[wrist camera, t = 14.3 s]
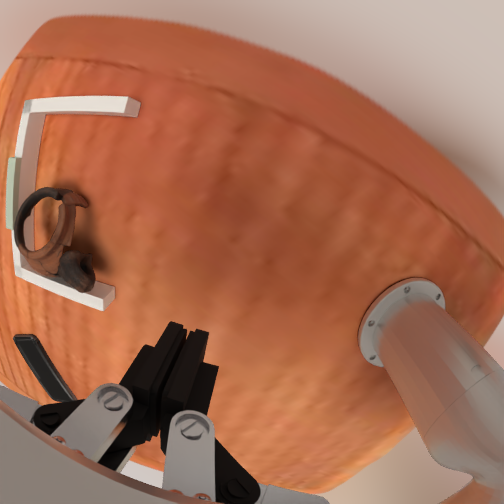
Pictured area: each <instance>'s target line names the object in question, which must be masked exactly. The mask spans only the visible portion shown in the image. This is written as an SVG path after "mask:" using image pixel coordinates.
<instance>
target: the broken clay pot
mask: <svg viewBox="0 0 504 504" xmlns="http://www.w3.org/2000/svg"><path fill="white" fill-rule="evenodd" d="M45 197H53V198H54V199H55V200H62V202H63V204H61V205H60V206H59V218H58V223H57V227H56V230H55V232H54V234H53V236H52V238H51V240H50V241H49V242H48V243H47V244H46V245H45V246H44V247H43V248H41V249H39V250H37V251H30V250H28V249H27V247H26V246H25V239H24V222H25V220H26V218H27V217H29V216H30V215H31V211H32V209H33V207H34V206H35V205H36V204H37V203H38V202H39V201H40V200H41V199H43V198H45ZM76 206H81V207H84V208H87V207H88V204H87V202H86V201H85V199H84V198H83V197H81V196H80V195H79V194H75V193H73V191H72V190H68V189H54V188H50V187H44V188H41V189H39V190H37V191H35V192H33V193H32V194H31V195H30V196H29V197H28V198H27V199H26V200H25V201H24V202H23V204H22V205H21V207H20V209H19V211H18V214H17V216H16V220H15V224H14V239H15V243H16V246H17V247H18V250H19V251H20V253H21V254H22V255H23V256H25V258H26V260H27V262H28V263H29V265H30V266H31V267H32V268H33V269H34V270H35V271H37V272H38V273H40V274H42V275H44V276H48V277H62V278H63V279H64V281H65V282H66V283H68V284H69V285H71V286H72V287H73V288H75V289H76V290H77V291H78V292H80V293H85V292H89V291H91V290H92V289H93V287H94V284H95V273H94V270H93V268H92V265H91V264H92V254H90V253H89V254H84V253H81V252H80V251H77V250H70V251H67V252H65V253H64V254H63V248H64V246H71V242H72V237H73V232H74V224H75V217H76Z"/></svg>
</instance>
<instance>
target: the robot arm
mask: <svg viewBox="0 0 504 504" xmlns="http://www.w3.org/2000/svg"><path fill="white" fill-rule="evenodd" d="M186 335H187V329H183V325H182V324H178V323H175V322H172V321H170V323H169V324H168V326H167V327H166V329H165V331H164V332H163V334H162V336H161V337H160V339H159V341H158V342H157V344H156V345H155V347H152V346H149V345H144V346H143V347H142V349H141V350H140V352H139V353H138V355H137V357H136V358H135V360H134V361H133V363H132V364H131V366H130V367H129V369H128V371H127V372H126V374H125V375H124V377H123V378H122V380H121V382H120V383H119V385H118V384H113V383H108V384H103V385H100V386H99V387H98V388H96V389H95V390H94V391H93V392H92V393H91V394H90V395H89V396H88V397H87V398H86V399H82V400H75V401H69V402H62V403H54V404H47V405H43V406H42V405H39V403H38V402H37V401H35V400H32V399H30V398H28V397H25V396H23V395H21V394H19V393H17V392H14V391H12V390H10V389H8V388H6V387H4V386H0V504H329V502H328V501H327V500H326V499H325V498H323V497H320V496H317V495H312V494H307V493H302V492H297V491H293V490H289V489H285V488H281V487H277V486H274V485H270V484H269V485H268V486H267V485H263V484H260V483H257V481H256V480H255V479H254V478H253V477H252V476H251V475H250V474H249V473H248V472H247V471H246V470H245V469H244V468H243V467H242V466H241V465H240V464H239V463H238V462H237V461H236V460H235V459H234V458H233V457H232V456H231V455H230V454H229V452H228V451H227V450H226V449H225V448H224V447H223V446H222V445H221V444H220V443H219V441H218V440H217V439H216V438H215V429H214V424H213V423H212V421H211V420H210V419H209V418H208V417H207V412H208V408H209V404H210V400H211V396H212V392H213V388H214V384H215V380H216V376H217V372H218V368H219V366H216V365H212V364H208V363H204V362H203V360H204V355H205V350H206V345H207V340H208V336H209V332H206V331H202V330H199V329H196V330H195V332H193V331H190V333H189V335H188V337H187V339H186ZM358 345H359V348H360V351H361V353H362V354H363V356H364V358H365V359H366V360H367V361H368V362H369V363H371V364H373V365H375V366H379V367H385V369H386V371H387V373H388V375H389V376H390V378H391V380H392V382H393V384H394V385H395V387H396V389H397V391H398V393H399V395H400V397H401V398H402V400H403V402H404V404H405V406H406V408H407V410H408V412H409V414H410V416H411V418H412V420H413V422H414V424H415V426H416V428H417V429H418V432H419V434H420V436H421V438H422V440H423V442H424V443H425V445H426V448H427V450H428V452H429V453H430V455H431V457H432V458H433V459H434V460H435V461H436V462H437V463H438V464H440V465H441V466H443V467H446V468H449V469H452V470H456V471H460V472H464V473H468V474H470V475H472V476H473V479H472V480H471V481H470V482H469V483H468V484H466V485H465V486H464V487H463V488H462V489H460V490H459V491H457V492H456V493H454V494H453V495H451V496H450V497H448V498H447V499H445V500H444V501H442V502H440V503H439V504H504V370H503V369H502V368H501V366H500V365H499V364H498V363H497V362H496V361H495V360H494V359H493V358H492V357H491V356H490V354H489V353H488V352H487V351H486V350H485V349H484V348H483V347H482V346H481V345H480V344H479V343H478V342H477V341H476V340H475V339H474V338H473V337H472V336H471V335H470V334H469V333H468V332H467V331H466V330H465V329H464V328H463V327H462V326H461V325H460V324H459V323H458V322H457V321H456V320H455V319H454V318H453V317H452V316H450V315H449V314H448V313H447V312H446V311H445V299H444V296H443V293H442V291H441V290H440V288H439V287H438V286H437V285H435V284H434V283H433V282H431V281H430V280H428V279H424V278H410V279H405V280H403V281H401V282H398V283H396V284H395V285H393V286H391V287H390V288H388V289H387V290H386V291H384V292H383V293H382V294H381V295H380V296H379V297H378V298H377V299H376V300H375V301H374V302H373V303H372V305H371V306H370V307H369V309H368V310H367V312H366V314H365V316H364V317H363V319H362V322H361V325H360V328H359V333H358ZM159 431H160V438H161V450H162V451H163V453H164V454H165V456H166V459H165V467H164V475H163V485H162V489H161V488H158V487H155V486H152V485H149V484H146V483H143V482H141V481H138V480H135V479H133V478H130V477H127V476H125V475H122V474H120V472H121V471H122V469H123V468H124V466H125V465H126V463H127V462H128V461H129V459H130V458H131V456H132V455H133V453H134V452H135V450H136V448H137V446H138V445H140V444H143V443H145V441H146V440H147V441H149V442H150V440H151V438H152V436H155V437H157V436H158V433H159Z"/></svg>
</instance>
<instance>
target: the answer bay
mask: <svg viewBox="0 0 504 504" xmlns="http://www.w3.org/2000/svg"><path fill="white" fill-rule="evenodd" d="M140 105H141V103H140V102H138V101H136V100H134V99H132V98H130V97H124V96H70V97H53V98H42V99H32V100H25V104H24V108H23V112H22V117H21V121H20V126H19V132H18V138H17V144H16V151H15V157H11V158H9V161H8V171H7V186H6V228H8V229H11V230H12V246H13V258H14V268H15V275H16V276H18V277H20V278H22V279H24V280H26V281H29V282H31V283H33V284H35V285H37V286H40V287H42V288H44V289H47V290H49V291H51V292H54V293H56V294H59V295H61V296H64V297H66V298H69V299H71V300H74V301H76V302H79V303H82V304H84V305H87V306H90V307H93V308H95V309H98V310H101V311H104V310H105V309H106V308H107V307H108V306H109V304H110V303H111V302H112V301H113V300H114V299H115V287H114V286H110V285H107V284H104V283H101V282H98V281H95V284H94V287H93V289H92V290H91V291H89V292H85V293H80V292H78V291H77V290H76V289H75V288H73V287H72V286H71V285H69V284H68V283H66V282H65V281H64V279H63V278H62V277H48V276H44V275H42V274H40V273H38V272H37V271H35V270H34V269H33V268H32V267H31V266H30V265H29V263H28V262H27V260H26V258H25V256H23V255H22V254H21V253H20V251H19V250H18V247H17V246H16V243H15V239H14V224H15V220H16V216H17V214H18V211H19V209H20V207H21V205H22V204H23V202H24V201H25V200H26V199H27V198H28V197H29V196H30V195H31V194H32V193H33V192H35V183H36V172H37V163H38V155H39V148H40V142H41V136H42V131H43V126H44V121H45V116H46V115H47V114H92V115H112V116H126V117H137V116H138V113H139V109H140ZM24 239H25V246H26V247H27V249H28V250H30V251H35V250H34V207H33V209H32V211H31V215H30V216H29V217H27V218H26V220H25V222H24Z"/></svg>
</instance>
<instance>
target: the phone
mask: <svg viewBox="0 0 504 504" xmlns="http://www.w3.org/2000/svg"><path fill="white" fill-rule="evenodd" d="M13 340H14V342H15V344H16V346H17V347H18V349H19V351H20V353H21V354H22V356H23V358H24V359H25V361H26V363H27V364H28V366H29V367H30V369H31V370H32V372H33V373H34V375H35V376H36V378H37V379H38V381H39V382H40V384H41V385H42V387H43V388H44V389H45V391H46V392H47V393H48V395H49V396H50V397H51V398H52V399H53V400H55V401H59V402H69V401H75V400H77V398H76V397H75V395H74V394H73V393H72V391H71V390H70V388H69V387H68V386H67V384H66V383H65V381H64V380H63V378H62V377H61V375H60V374H59V372H58V371H57V369H56V368H55V366H54V365H53V363H52V361H51V360H50V358H49V356H48V355H47V353H46V351H45V350H44V348H43V346H42V344H41V343H40V341H39V339H38V338H37V337H36V336H35V335H33V334H16V335H15V336H14V337H13Z"/></svg>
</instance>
